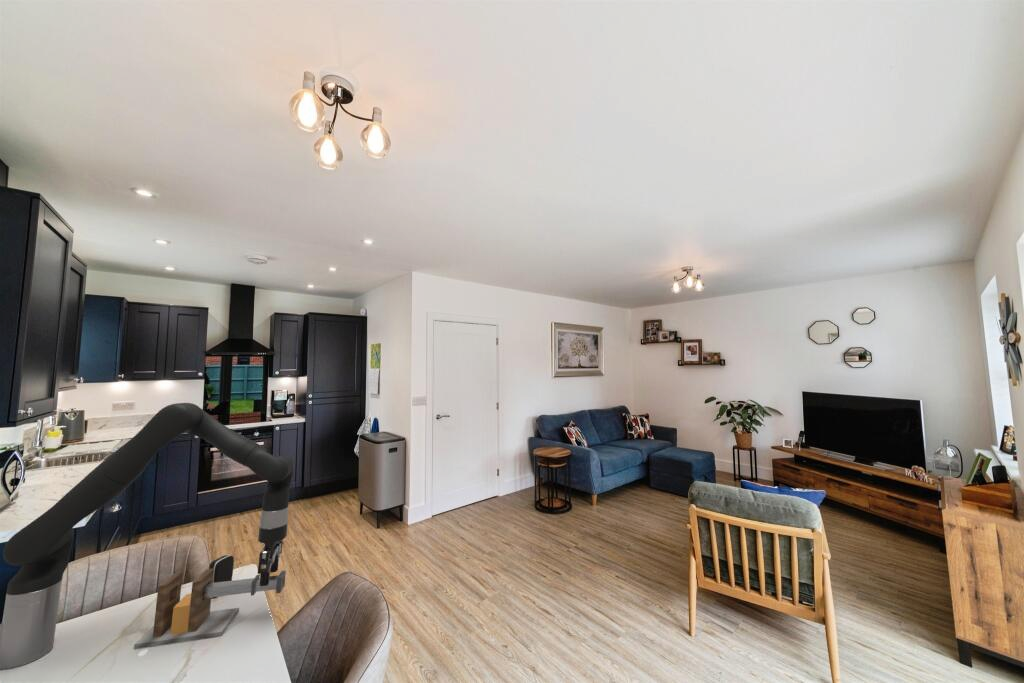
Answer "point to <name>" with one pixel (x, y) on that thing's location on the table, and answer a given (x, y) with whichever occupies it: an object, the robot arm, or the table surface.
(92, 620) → the table surface
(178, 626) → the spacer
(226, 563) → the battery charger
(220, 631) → the stand
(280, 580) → the shaft
